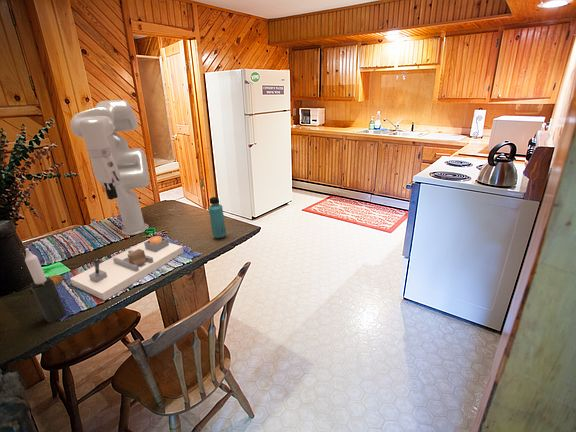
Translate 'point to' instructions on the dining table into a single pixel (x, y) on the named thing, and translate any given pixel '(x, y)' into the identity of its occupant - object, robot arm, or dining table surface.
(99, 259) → the toggle lever
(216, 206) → the beverage bottle
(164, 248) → the control panel
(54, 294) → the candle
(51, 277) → the pastry
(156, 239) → the push button
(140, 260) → the slider knob
